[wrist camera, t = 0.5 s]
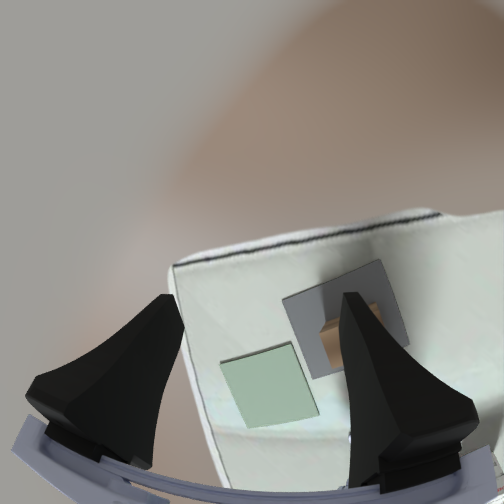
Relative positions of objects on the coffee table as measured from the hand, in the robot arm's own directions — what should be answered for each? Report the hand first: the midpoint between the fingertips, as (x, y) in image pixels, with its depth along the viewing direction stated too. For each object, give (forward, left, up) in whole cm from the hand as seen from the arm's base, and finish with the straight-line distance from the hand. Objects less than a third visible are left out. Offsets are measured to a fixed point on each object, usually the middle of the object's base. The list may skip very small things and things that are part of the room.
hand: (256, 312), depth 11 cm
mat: (-13, +14, -25) cm, 31 cm away
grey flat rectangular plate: (-7, 0, -25) cm, 26 cm away
